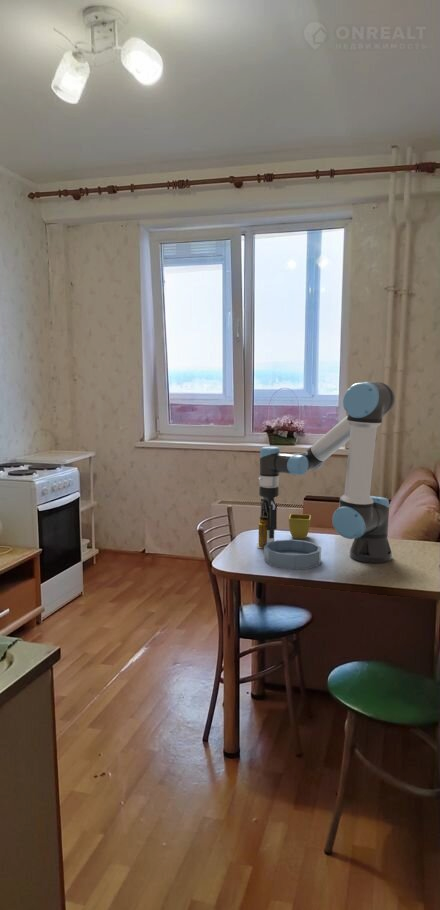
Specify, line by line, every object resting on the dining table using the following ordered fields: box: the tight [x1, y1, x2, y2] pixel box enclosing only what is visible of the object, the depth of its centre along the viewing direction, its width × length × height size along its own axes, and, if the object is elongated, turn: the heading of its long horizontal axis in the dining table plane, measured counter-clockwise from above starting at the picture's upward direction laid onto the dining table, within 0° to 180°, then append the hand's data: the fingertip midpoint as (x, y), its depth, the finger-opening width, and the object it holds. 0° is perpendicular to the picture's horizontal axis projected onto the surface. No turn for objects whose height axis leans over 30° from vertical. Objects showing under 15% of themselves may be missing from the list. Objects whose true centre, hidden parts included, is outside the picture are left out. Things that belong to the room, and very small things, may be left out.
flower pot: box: [288, 513, 312, 540], centre depth 244 cm, size 9×9×9 cm
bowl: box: [263, 539, 322, 570], centre depth 212 cm, size 20×20×5 cm
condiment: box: [257, 515, 268, 549], centre depth 230 cm, size 7×8×12 cm
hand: (267, 543), depth 231 cm, fingers closed on condiment, 6 cm apart
